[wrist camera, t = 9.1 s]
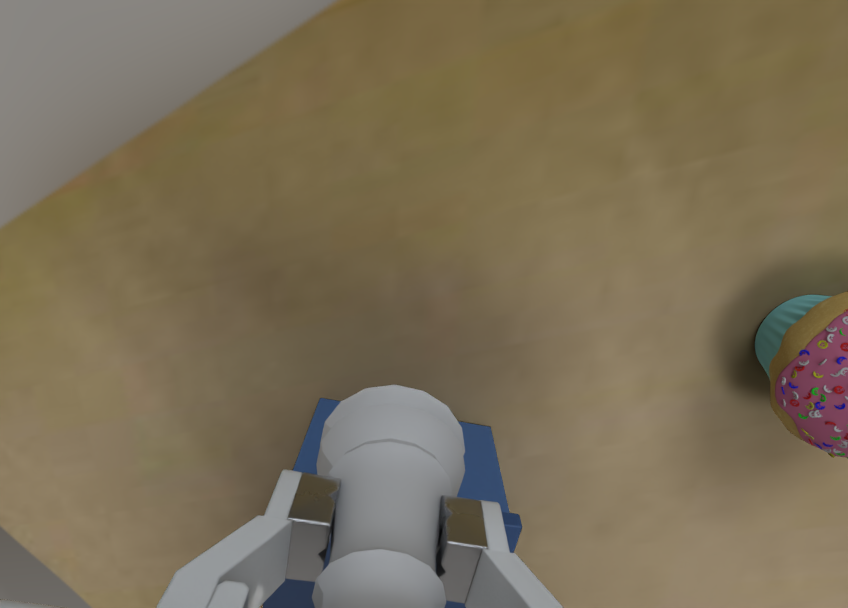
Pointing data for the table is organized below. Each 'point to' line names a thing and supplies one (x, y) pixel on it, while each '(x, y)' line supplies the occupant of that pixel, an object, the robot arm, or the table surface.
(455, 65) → the table surface
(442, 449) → the rook chess piece
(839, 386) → the cupcake
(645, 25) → the table surface
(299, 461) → the blue box
